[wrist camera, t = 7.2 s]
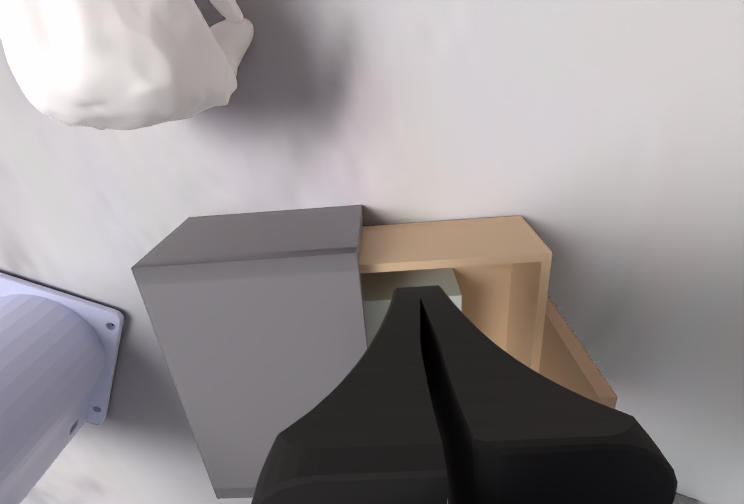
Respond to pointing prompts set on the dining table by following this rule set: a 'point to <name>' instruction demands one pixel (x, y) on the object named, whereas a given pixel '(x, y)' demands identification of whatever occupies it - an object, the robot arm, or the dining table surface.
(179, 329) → the mailer sleeve
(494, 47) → the dining table surface
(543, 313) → the mailer tray
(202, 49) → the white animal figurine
